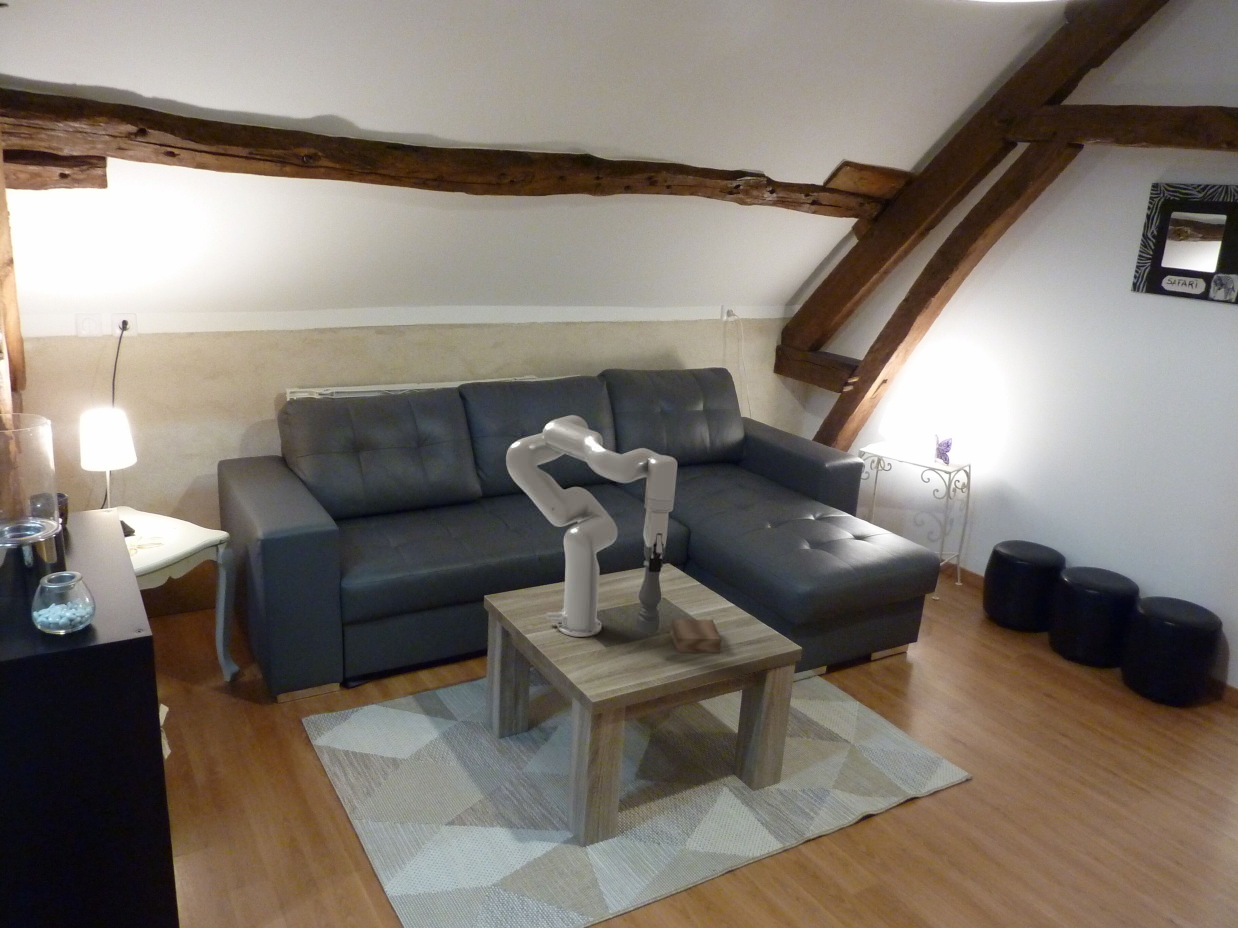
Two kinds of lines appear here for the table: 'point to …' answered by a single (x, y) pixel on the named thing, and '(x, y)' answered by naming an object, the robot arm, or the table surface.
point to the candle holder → (649, 597)
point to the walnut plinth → (695, 635)
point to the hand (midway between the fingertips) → (652, 566)
